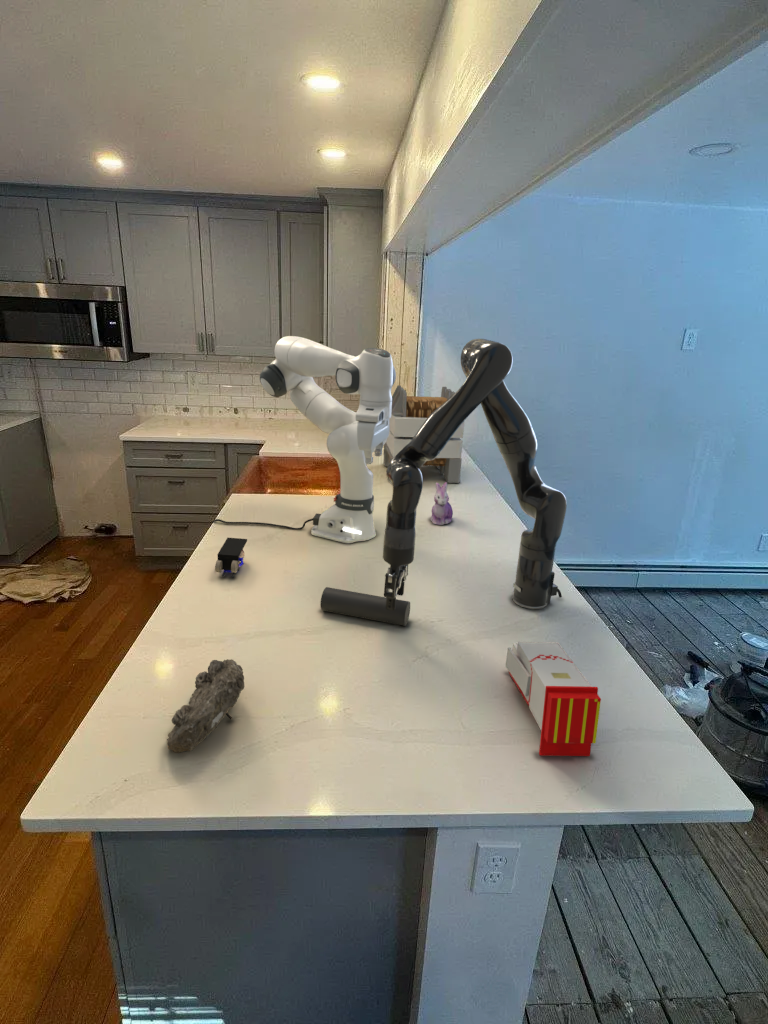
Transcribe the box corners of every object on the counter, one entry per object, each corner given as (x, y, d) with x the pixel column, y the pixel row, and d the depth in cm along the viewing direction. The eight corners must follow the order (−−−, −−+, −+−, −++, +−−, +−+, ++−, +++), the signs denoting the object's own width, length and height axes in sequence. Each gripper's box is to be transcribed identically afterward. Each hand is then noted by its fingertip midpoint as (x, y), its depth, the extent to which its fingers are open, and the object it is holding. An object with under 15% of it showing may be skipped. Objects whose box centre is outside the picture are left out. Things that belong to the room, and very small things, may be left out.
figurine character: (238, 584, 162) (249, 557, 175) (236, 562, 158) (247, 536, 172) (215, 584, 161) (227, 556, 175) (212, 561, 158) (225, 535, 171)
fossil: (192, 660, 117) (244, 628, 112) (224, 691, 120) (276, 661, 115) (142, 746, 98) (202, 712, 93) (182, 779, 101) (242, 748, 96)
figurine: (438, 527, 207) (441, 488, 202) (423, 518, 216) (426, 480, 211) (459, 523, 211) (463, 485, 206) (444, 514, 220) (447, 477, 215)
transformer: (382, 463, 289) (386, 382, 275) (445, 464, 293) (451, 384, 279) (390, 482, 257) (394, 392, 243) (460, 483, 261) (468, 394, 247)
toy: (554, 624, 127) (610, 694, 97) (548, 679, 130) (602, 763, 100) (500, 623, 126) (541, 693, 97) (496, 678, 129) (534, 763, 100)
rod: (320, 614, 146) (320, 593, 143) (328, 603, 151) (329, 583, 149) (403, 630, 140) (405, 608, 138) (409, 618, 146) (411, 597, 144)
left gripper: (374, 404, 165) (373, 450, 170) (353, 415, 146) (352, 466, 151) (395, 405, 164) (393, 452, 168) (376, 417, 145) (374, 469, 150)
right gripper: (407, 555, 129) (402, 618, 134) (420, 534, 142) (415, 592, 147) (375, 550, 130) (372, 612, 136) (391, 529, 143) (388, 587, 149)
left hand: (373, 459), depth 160 cm, fingers open, 8 cm apart
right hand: (394, 601), depth 141 cm, fingers open, 8 cm apart
